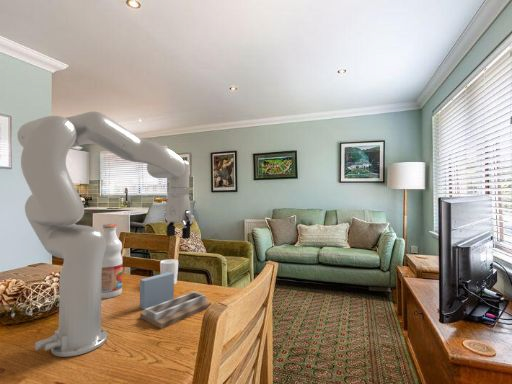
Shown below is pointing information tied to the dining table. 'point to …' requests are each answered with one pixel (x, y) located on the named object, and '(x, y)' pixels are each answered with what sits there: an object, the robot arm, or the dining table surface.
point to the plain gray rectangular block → (156, 290)
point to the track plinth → (175, 309)
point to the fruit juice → (111, 263)
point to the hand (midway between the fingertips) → (178, 237)
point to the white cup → (169, 267)
